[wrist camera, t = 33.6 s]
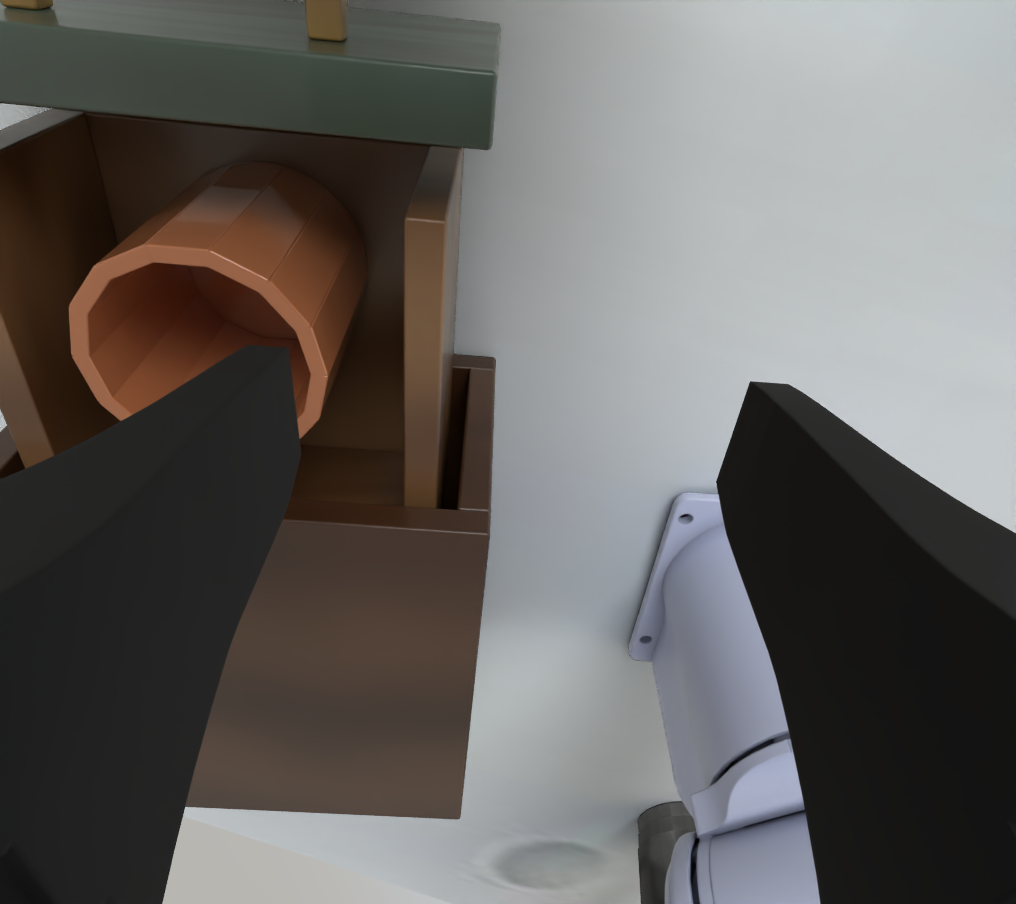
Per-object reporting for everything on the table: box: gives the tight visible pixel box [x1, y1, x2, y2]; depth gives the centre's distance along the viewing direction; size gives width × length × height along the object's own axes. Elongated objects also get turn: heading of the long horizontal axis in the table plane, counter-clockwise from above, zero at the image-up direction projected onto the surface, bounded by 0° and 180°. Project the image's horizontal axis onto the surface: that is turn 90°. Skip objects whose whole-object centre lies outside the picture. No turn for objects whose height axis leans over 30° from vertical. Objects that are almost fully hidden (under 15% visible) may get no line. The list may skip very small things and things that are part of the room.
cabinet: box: [0, 354, 496, 819], centre depth 23 cm, size 14×12×8 cm
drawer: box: [0, 0, 501, 509], centre depth 16 cm, size 17×11×6 cm, turn 175°
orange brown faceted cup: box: [69, 161, 369, 439], centre depth 16 cm, size 5×5×6 cm
